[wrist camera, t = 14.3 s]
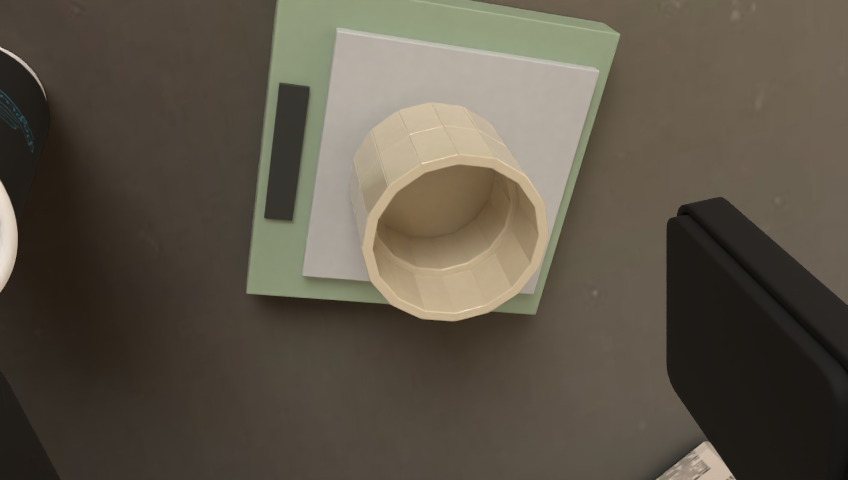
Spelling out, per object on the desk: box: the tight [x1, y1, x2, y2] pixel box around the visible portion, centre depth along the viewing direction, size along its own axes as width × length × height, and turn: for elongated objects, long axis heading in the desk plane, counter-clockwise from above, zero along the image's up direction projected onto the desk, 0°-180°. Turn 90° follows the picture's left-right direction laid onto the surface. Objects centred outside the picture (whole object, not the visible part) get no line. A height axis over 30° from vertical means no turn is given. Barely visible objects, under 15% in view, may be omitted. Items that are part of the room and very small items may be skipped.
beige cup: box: [349, 102, 549, 321], centre depth 31 cm, size 7×7×6 cm
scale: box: [246, 0, 620, 315], centre depth 35 cm, size 14×14×3 cm
